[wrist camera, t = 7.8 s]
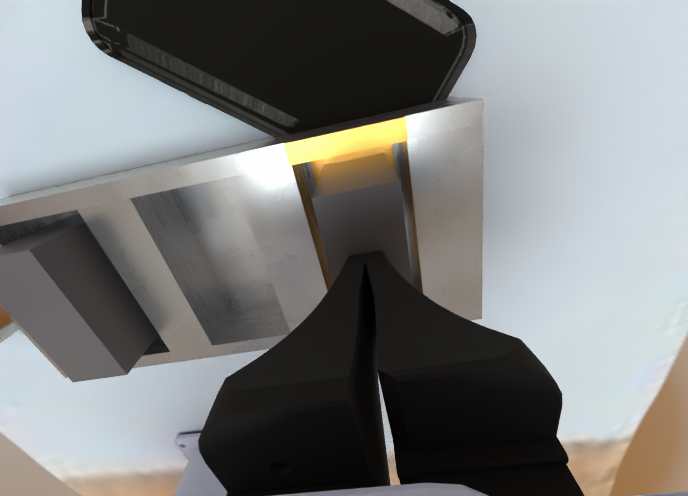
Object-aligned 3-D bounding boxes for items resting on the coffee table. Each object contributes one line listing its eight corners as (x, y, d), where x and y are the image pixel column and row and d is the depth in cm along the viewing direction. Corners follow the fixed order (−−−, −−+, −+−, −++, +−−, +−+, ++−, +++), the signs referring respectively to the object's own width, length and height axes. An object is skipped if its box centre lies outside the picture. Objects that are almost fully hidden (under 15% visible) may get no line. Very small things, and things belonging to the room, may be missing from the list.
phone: (94, -233, 9) (488, 26, 12) (120, -201, 10) (478, 31, 13) (79, 44, 13) (390, 196, 15) (99, 47, 14) (387, 190, 16)
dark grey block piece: (401, 275, 17) (418, 338, 13) (350, 283, 18) (350, 347, 13) (384, 153, 14) (400, 180, 10) (323, 165, 14) (311, 198, 10)
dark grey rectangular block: (179, 308, 19) (127, 374, 14) (136, 315, 19) (72, 382, 15) (119, 205, 16) (28, 250, 11) (69, 215, 16) (-38, 263, 12)
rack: (457, 277, 18) (484, 322, 15) (110, 332, 21) (60, 382, 17) (450, 97, 14) (486, 99, 10) (8, 196, 16) (-88, 226, 13)
